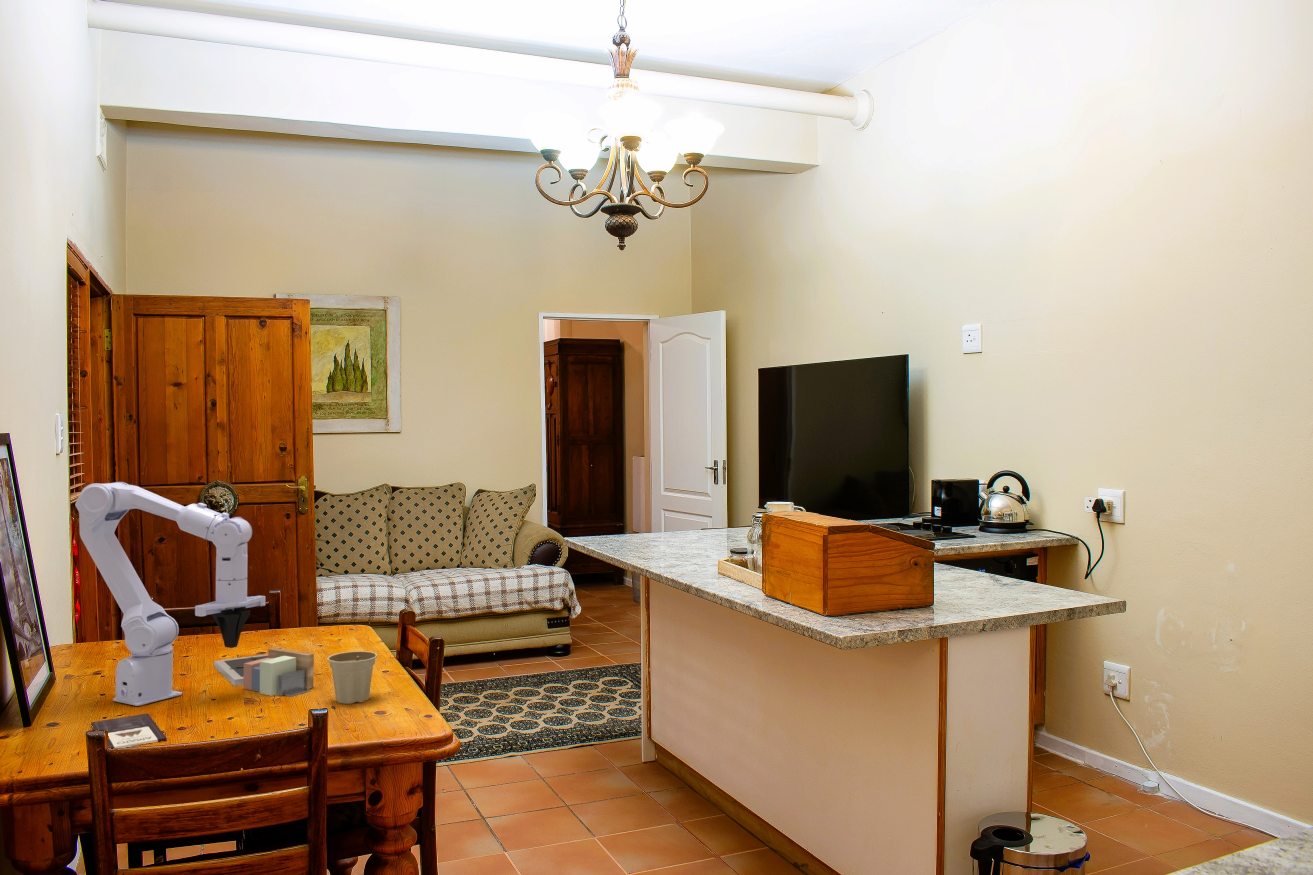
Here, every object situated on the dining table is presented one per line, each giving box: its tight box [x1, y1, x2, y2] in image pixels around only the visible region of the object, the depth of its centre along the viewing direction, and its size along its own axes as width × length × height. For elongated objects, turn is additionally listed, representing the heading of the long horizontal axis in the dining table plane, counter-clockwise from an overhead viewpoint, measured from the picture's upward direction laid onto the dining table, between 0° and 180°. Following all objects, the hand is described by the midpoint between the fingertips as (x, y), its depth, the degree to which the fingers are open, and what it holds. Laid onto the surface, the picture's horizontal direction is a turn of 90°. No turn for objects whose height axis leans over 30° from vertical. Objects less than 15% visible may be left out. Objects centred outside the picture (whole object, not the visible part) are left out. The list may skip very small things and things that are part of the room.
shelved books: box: [242, 658, 273, 693], centre depth 189 cm, size 6×5×5 cm
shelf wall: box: [267, 647, 315, 689], centre depth 191 cm, size 2×12×7 cm, turn 62°
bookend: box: [277, 669, 312, 698], centre depth 185 cm, size 6×3×4 cm, turn 152°
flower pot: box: [326, 650, 378, 705], centre depth 180 cm, size 9×9×9 cm
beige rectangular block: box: [259, 656, 296, 697], centre depth 186 cm, size 6×4×6 cm, turn 152°
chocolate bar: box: [90, 712, 168, 749], centre depth 158 cm, size 9×1×18 cm
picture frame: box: [213, 653, 268, 687], centre depth 203 cm, size 16×3×21 cm
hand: (230, 646), depth 182 cm, fingers closed
